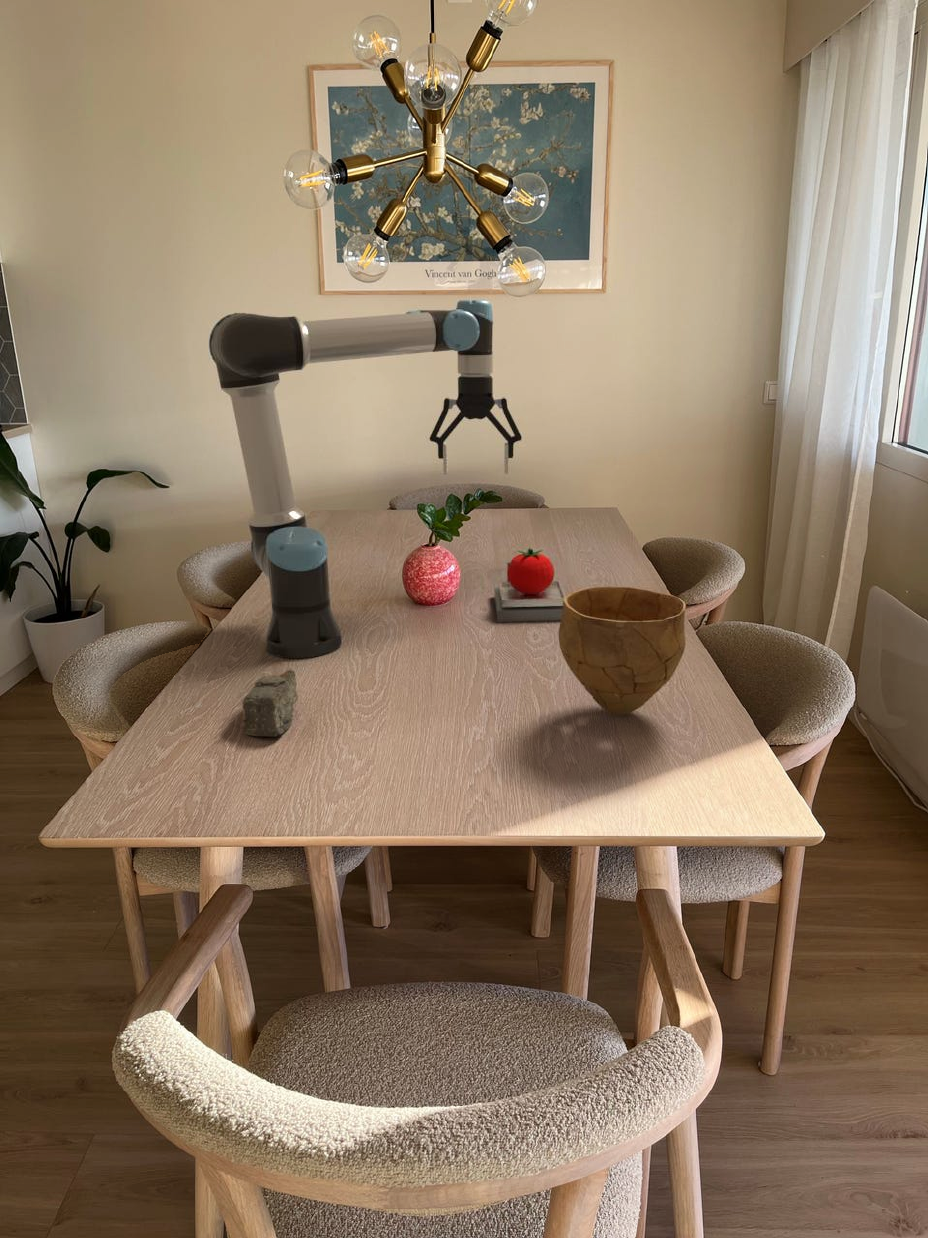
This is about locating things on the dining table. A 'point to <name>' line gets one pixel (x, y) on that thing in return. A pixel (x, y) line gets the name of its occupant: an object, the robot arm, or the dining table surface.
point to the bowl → (622, 643)
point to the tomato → (530, 572)
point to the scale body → (525, 610)
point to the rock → (270, 705)
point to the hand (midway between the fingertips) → (475, 473)
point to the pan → (532, 596)
